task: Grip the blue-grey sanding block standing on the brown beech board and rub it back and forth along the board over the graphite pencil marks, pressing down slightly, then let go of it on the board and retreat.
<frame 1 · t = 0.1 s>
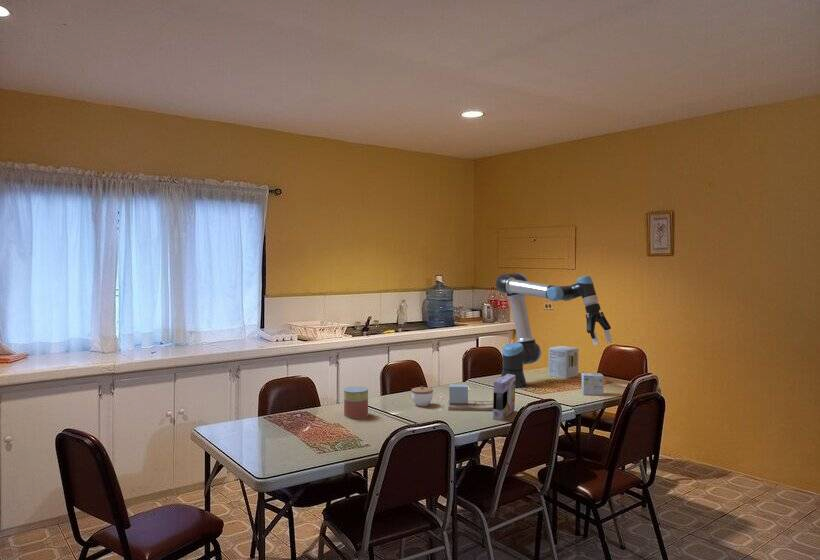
hand: (603, 343, 304), 28 cm above the table, tool tilted 20°, fingers open, 13 cm apart
supplement box: (563, 376, 357), on the table
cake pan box: (503, 415, 268), on the table
lidded jar: (422, 405, 288), on the table
sanding block: (458, 403, 284), point 2 cm above the table, touching board
light bulb box: (592, 394, 310), on the table
canned food: (356, 415, 270), on the table
board: (474, 407, 283), on the table
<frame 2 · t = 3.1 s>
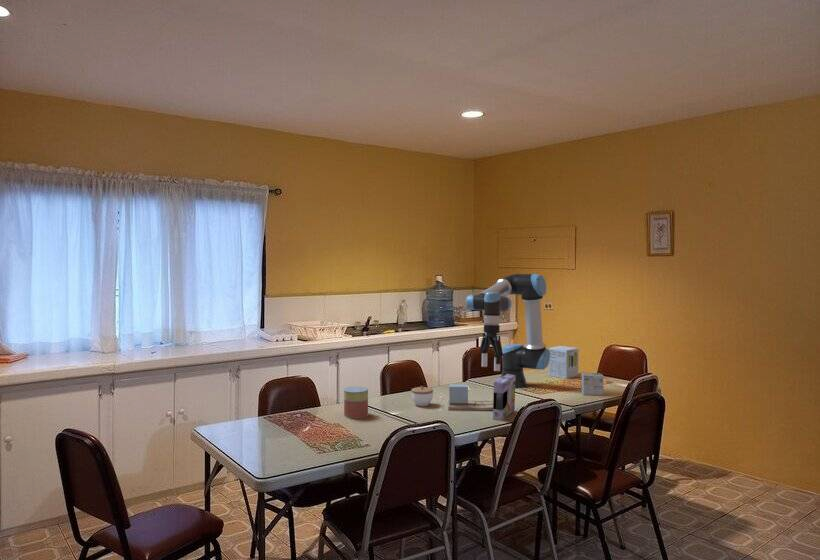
hand: (490, 368, 277), 20 cm above the table, tool pointing down, fingers open, 13 cm apart
nothing on the table moved.
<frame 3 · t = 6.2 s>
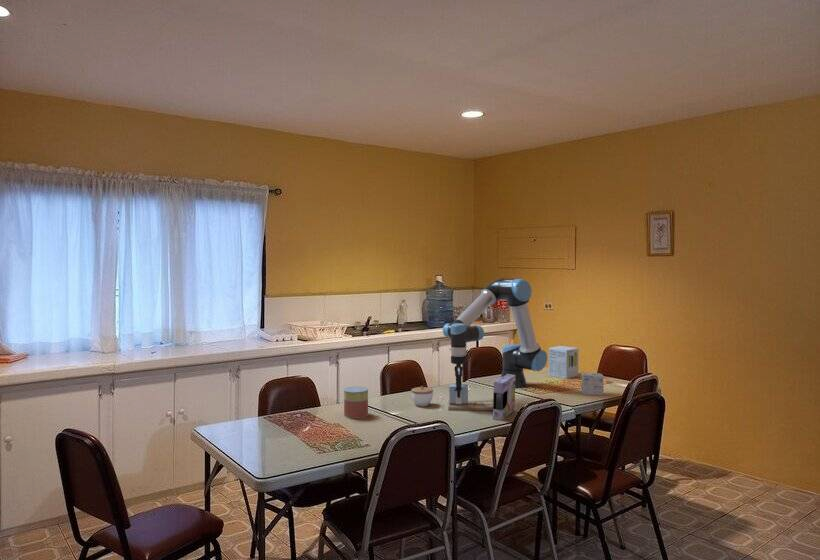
hand: (458, 402, 284), 2 cm above the table, tool pointing down, fingers closed on sanding block, 5 cm apart
sanding block: (458, 403, 284), point 2 cm above the table, touching board, gripper
everything else where it was.
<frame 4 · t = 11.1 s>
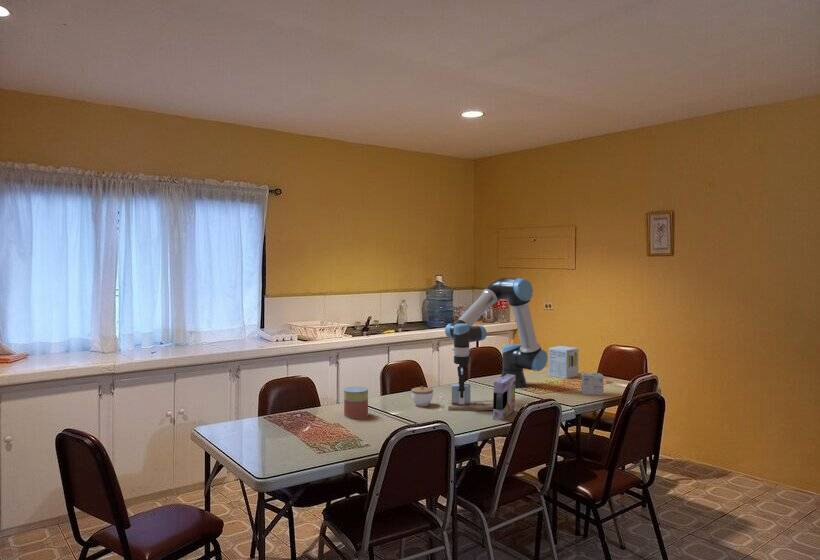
hand: (461, 402, 284), 2 cm above the table, tool pointing down, fingers closed on sanding block, 5 cm apart
sanding block: (460, 403, 284), point 2 cm above the table, touching gripper
everything else where it was.
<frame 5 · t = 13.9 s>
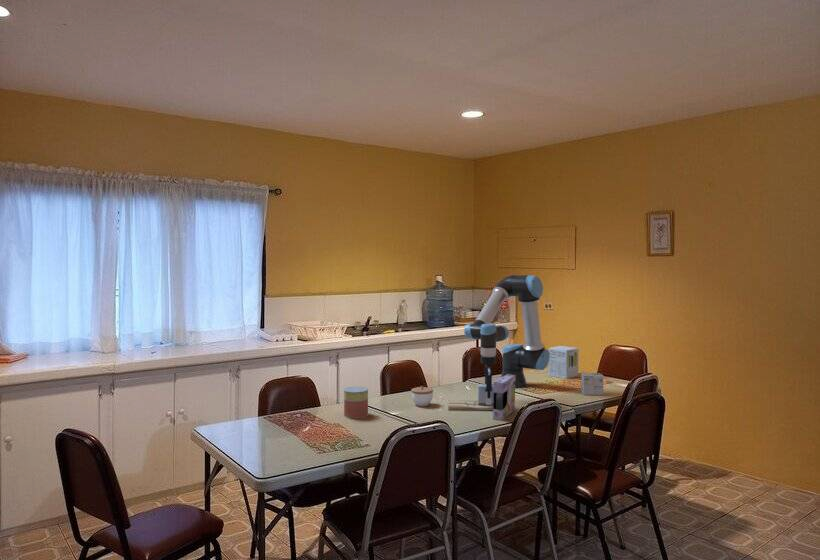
hand: (488, 402, 283), 2 cm above the table, tool pointing down, fingers closed on sanding block, 5 cm apart
sanding block: (487, 403, 283), point 2 cm above the table, touching gripper
everything else where it was.
when the fingers open (2 cm above the table, at t = 16.1 s): sanding block stays where it is, resting on board.
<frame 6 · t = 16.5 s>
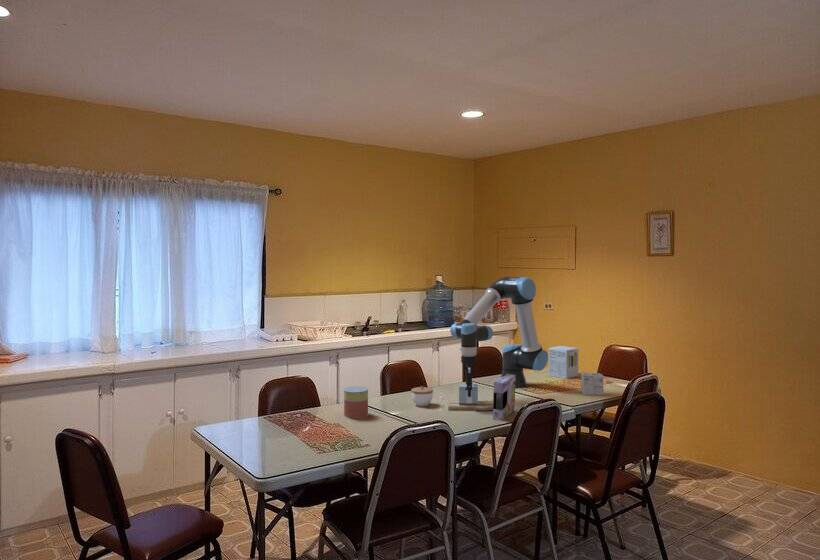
hand: (468, 400, 283), 3 cm above the table, tool pointing down, fingers open, 10 cm apart
sanding block: (468, 403, 283), point 2 cm above the table, touching board
everything else where it was.
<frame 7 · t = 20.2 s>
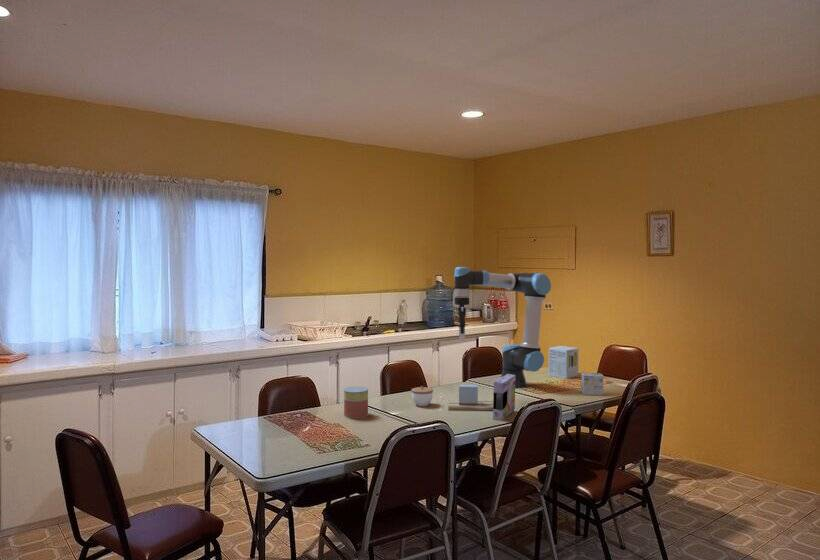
hand: (461, 338, 298), 32 cm above the table, tool pointing down, fingers open, 13 cm apart
nothing on the table moved.
at the end: sanding block inside the target area on the board (3.3 cm from its centre), point 1.5 cm above the board's base; sanding block moved 4.7 cm from its start; the gripper is holding nothing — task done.
